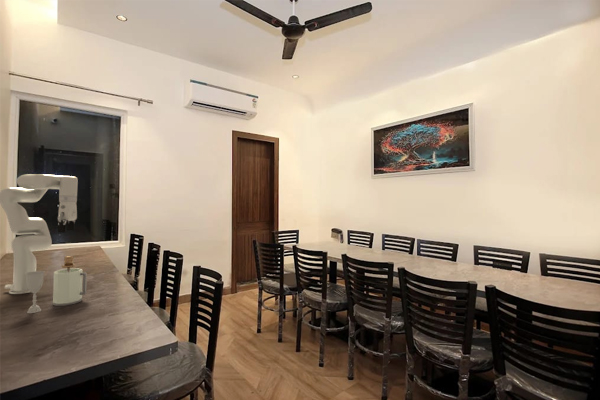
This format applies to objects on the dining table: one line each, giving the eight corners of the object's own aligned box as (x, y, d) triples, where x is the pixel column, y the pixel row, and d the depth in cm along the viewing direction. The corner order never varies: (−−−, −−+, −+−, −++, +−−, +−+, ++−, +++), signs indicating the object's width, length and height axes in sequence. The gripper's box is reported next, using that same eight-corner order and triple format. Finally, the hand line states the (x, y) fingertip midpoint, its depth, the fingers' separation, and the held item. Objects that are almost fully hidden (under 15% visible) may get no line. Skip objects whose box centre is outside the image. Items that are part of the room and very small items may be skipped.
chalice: (47, 309, 141) (48, 271, 141) (30, 314, 134) (31, 275, 134) (37, 307, 143) (38, 270, 143) (20, 312, 137) (21, 273, 137)
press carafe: (48, 306, 145) (49, 273, 145) (59, 299, 156) (60, 268, 156) (80, 304, 149) (81, 272, 149) (89, 297, 160) (90, 267, 160)
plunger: (58, 300, 148) (59, 257, 149) (63, 297, 154) (64, 255, 154) (71, 299, 150) (72, 257, 150) (76, 296, 155) (77, 255, 156)
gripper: (68, 199, 151) (66, 233, 151) (83, 199, 168) (81, 229, 168) (51, 199, 149) (49, 233, 149) (67, 198, 166) (66, 229, 166)
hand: (66, 231), depth 159 cm, fingers open, 9 cm apart
